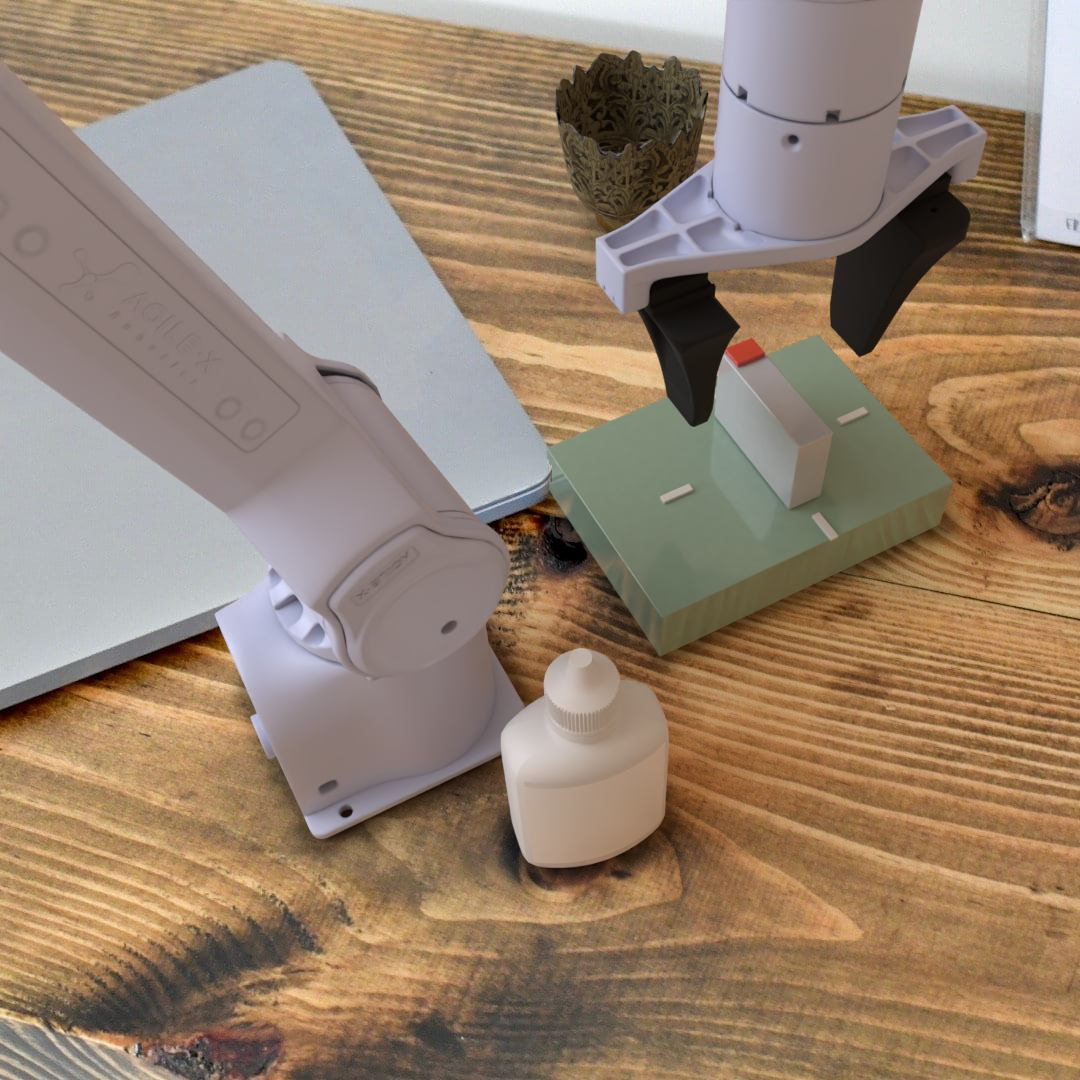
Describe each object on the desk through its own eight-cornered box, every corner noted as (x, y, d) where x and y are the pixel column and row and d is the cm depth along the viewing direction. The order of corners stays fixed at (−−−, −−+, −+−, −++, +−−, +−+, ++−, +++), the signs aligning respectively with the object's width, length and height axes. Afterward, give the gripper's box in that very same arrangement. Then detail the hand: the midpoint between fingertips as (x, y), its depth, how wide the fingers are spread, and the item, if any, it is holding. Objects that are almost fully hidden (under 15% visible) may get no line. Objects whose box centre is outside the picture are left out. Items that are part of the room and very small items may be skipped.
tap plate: (661, 659, 53) (663, 617, 51) (547, 488, 59) (544, 443, 57) (941, 526, 57) (956, 481, 54) (808, 377, 62) (816, 329, 60)
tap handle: (821, 496, 54) (835, 428, 51) (788, 510, 54) (800, 444, 50) (744, 402, 57) (752, 333, 54) (713, 415, 57) (719, 346, 54)
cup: (538, 252, 68) (530, 123, 62) (588, 167, 72) (585, 37, 66) (674, 284, 66) (680, 154, 60) (718, 195, 70) (727, 64, 64)
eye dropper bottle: (653, 889, 48) (662, 734, 38) (503, 864, 49) (475, 706, 39) (670, 782, 50) (682, 610, 41) (527, 759, 51) (505, 586, 41)
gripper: (926, -55, 45) (864, 252, 56) (548, 73, 41) (561, 373, 52) (1064, 49, 41) (968, 356, 52) (659, 199, 37) (648, 495, 48)
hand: (770, 373), depth 52 cm, fingers open, 7 cm apart
